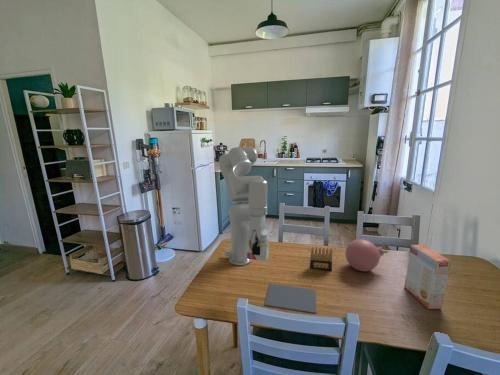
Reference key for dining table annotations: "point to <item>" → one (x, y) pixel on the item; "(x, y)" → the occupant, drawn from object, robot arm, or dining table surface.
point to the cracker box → (427, 276)
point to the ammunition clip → (321, 260)
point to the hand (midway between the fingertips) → (257, 250)
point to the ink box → (263, 247)
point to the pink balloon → (363, 255)
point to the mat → (291, 298)
